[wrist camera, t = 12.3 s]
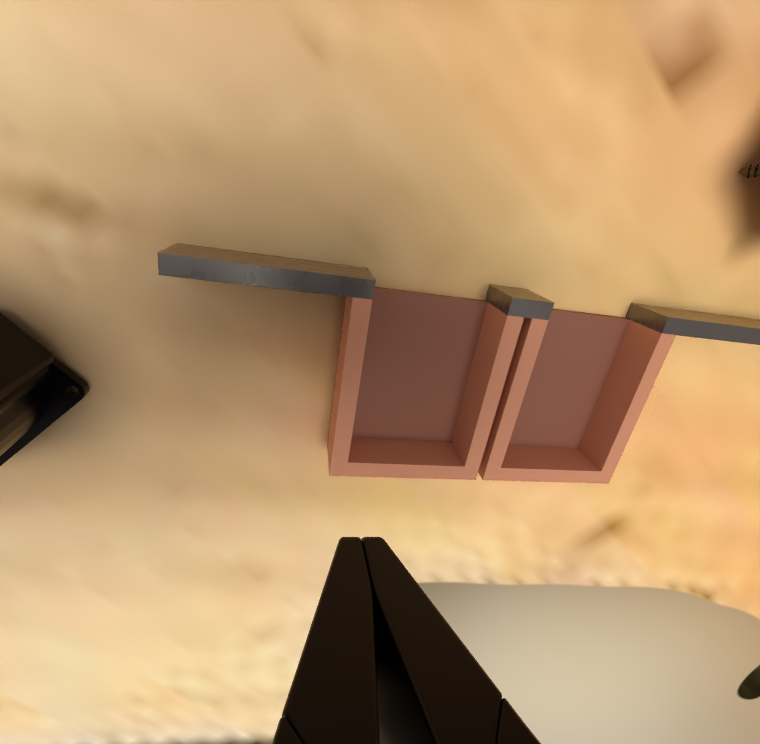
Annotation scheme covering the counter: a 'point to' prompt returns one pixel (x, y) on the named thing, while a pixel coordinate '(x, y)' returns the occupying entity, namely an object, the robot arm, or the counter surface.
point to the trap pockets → (486, 390)
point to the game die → (751, 171)
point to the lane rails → (361, 285)
